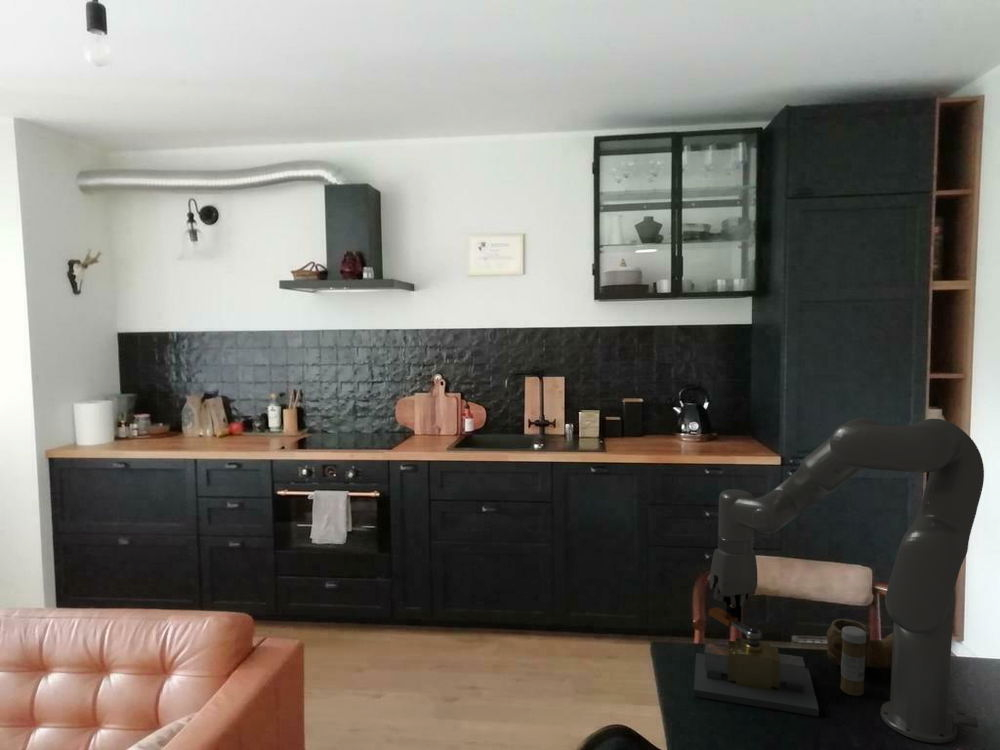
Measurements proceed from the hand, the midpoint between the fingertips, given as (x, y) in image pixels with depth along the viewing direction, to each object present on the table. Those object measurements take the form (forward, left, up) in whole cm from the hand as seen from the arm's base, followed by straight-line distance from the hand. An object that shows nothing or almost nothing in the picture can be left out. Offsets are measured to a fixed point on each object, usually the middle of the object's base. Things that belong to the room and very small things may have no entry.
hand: (733, 621), depth 153 cm
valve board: (-4, +10, -10) cm, 14 cm away
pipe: (-28, -5, -10) cm, 30 cm away
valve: (-4, +9, -8) cm, 13 cm away
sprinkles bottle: (-24, +6, -10) cm, 26 cm away
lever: (0, +5, +1) cm, 6 cm away
